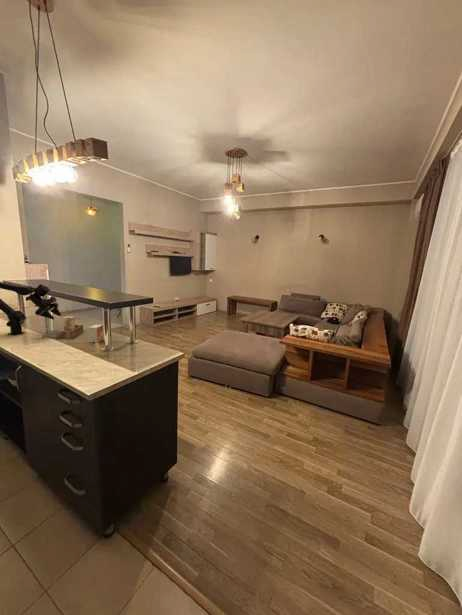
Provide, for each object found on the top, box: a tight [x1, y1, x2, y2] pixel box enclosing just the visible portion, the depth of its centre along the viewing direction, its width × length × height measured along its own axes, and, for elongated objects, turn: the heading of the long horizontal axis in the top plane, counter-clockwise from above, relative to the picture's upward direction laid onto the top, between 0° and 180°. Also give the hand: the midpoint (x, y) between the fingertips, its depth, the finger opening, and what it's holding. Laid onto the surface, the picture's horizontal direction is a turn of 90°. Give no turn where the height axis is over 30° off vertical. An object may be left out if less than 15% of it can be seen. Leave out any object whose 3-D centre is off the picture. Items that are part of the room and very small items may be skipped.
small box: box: [88, 324, 104, 344], centre depth 166 cm, size 8×6×10 cm
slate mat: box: [41, 330, 56, 338], centre depth 173 cm, size 11×12×1 cm
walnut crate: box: [55, 324, 84, 340], centre depth 174 cm, size 10×17×5 cm, turn 9°
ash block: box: [63, 315, 76, 331], centre depth 173 cm, size 5×5×13 cm
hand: (57, 317), depth 171 cm, fingers open, 9 cm apart
